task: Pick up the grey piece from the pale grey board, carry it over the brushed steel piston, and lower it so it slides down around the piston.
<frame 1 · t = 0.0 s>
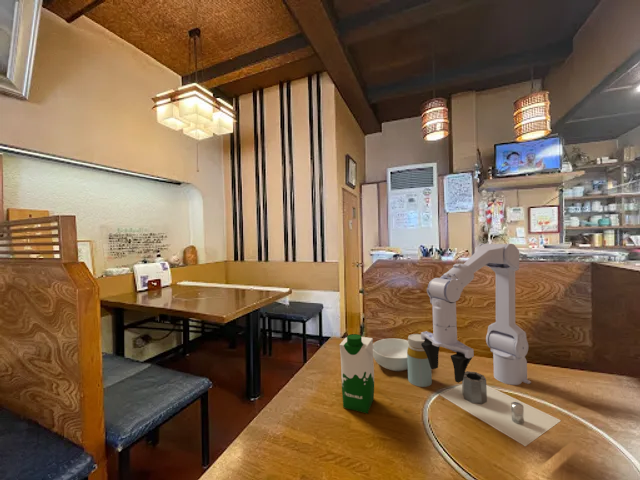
hand: (446, 374, 72), 10 cm above the table, tool pointing down, fingers open, 7 cm apart
cereal bowl: (395, 366, 98), on the table
bottle: (419, 385, 85), on the table
board: (495, 410, 72), on the table
grey piece: (474, 397, 76), point 1 cm above the table, touching board
milk carton: (359, 403, 77), on the table
piston: (517, 425, 66), resting on board
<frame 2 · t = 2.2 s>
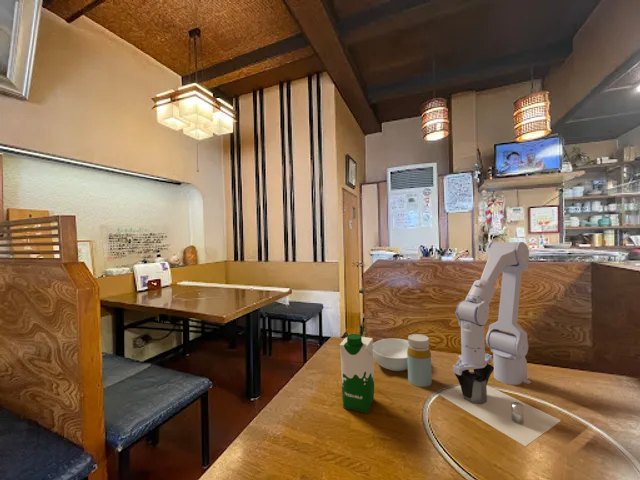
hand: (474, 392, 76), 3 cm above the table, tool pointing down, fingers closed on grey piece, 6 cm apart
grey piece: (474, 397, 76), point 1 cm above the table, touching board, gripper
everything else where it was.
when the fingers open (4 cm above the table, at t = 6.4 s): grey piece drops 1 cm, resting on board.
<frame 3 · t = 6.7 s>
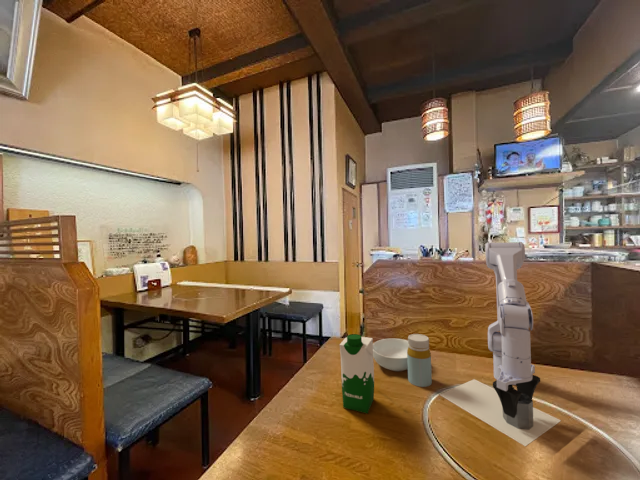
hand: (517, 409, 66), 4 cm above the table, tool pointing down, fingers open, 7 cm apart
grey piece: (517, 421, 66), point 1 cm above the table, touching board
everything else where it was.
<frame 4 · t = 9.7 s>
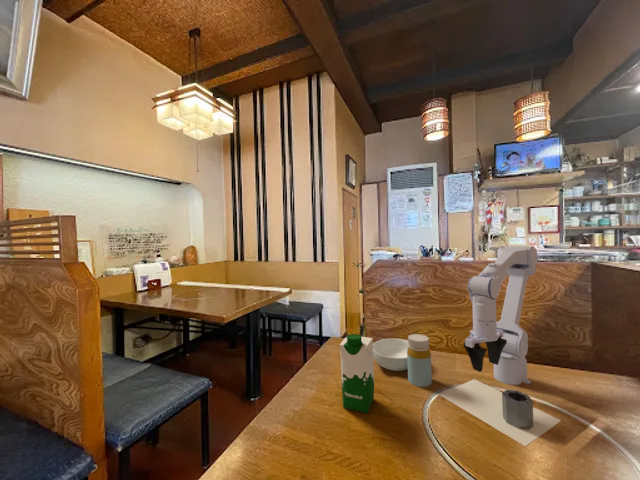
hand: (485, 366, 76), 9 cm above the table, tool pointing down, fingers open, 7 cm apart
nothing on the table moved.
at the end: grey piece 0.0 cm from the piston (horizontally); grey piece point 1.2 cm above the table; grey piece tilted 0° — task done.
